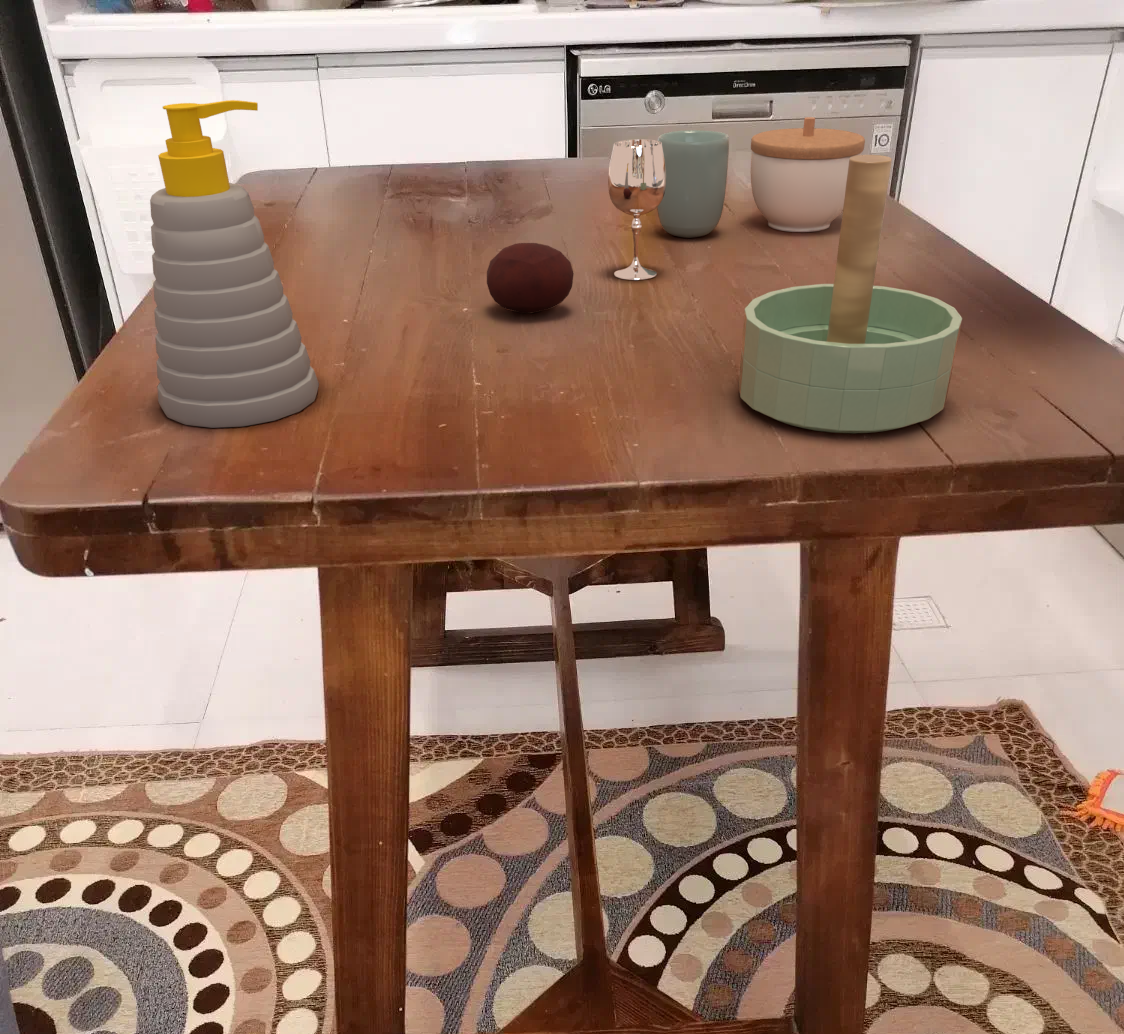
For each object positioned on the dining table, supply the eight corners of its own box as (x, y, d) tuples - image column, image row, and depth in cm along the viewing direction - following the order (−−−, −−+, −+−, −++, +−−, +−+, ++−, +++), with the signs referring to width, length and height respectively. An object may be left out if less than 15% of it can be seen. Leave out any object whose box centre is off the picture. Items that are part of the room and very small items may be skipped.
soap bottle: (327, 417, 84) (279, 110, 71) (157, 437, 81) (77, 123, 69) (313, 365, 93) (268, 87, 81) (161, 381, 91) (91, 97, 78)
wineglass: (612, 266, 116) (613, 138, 109) (666, 267, 115) (671, 138, 108) (603, 280, 112) (603, 148, 104) (659, 282, 111) (663, 149, 103)
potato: (539, 329, 100) (537, 259, 96) (470, 314, 104) (465, 246, 100) (586, 309, 104) (586, 241, 101) (518, 295, 108) (516, 230, 105)
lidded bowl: (803, 208, 136) (814, 105, 129) (876, 227, 127) (892, 118, 120) (723, 222, 131) (729, 116, 124) (793, 243, 122) (805, 131, 115)
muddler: (863, 382, 86) (897, 151, 76) (872, 402, 82) (909, 164, 72) (806, 382, 86) (833, 152, 76) (813, 402, 82) (842, 165, 72)
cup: (642, 237, 126) (644, 138, 120) (676, 223, 131) (680, 128, 125) (702, 245, 122) (707, 144, 116) (734, 230, 127) (741, 133, 121)
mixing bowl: (921, 366, 90) (936, 283, 86) (964, 439, 78) (984, 346, 74) (732, 366, 91) (738, 284, 87) (745, 438, 79) (753, 346, 75)
